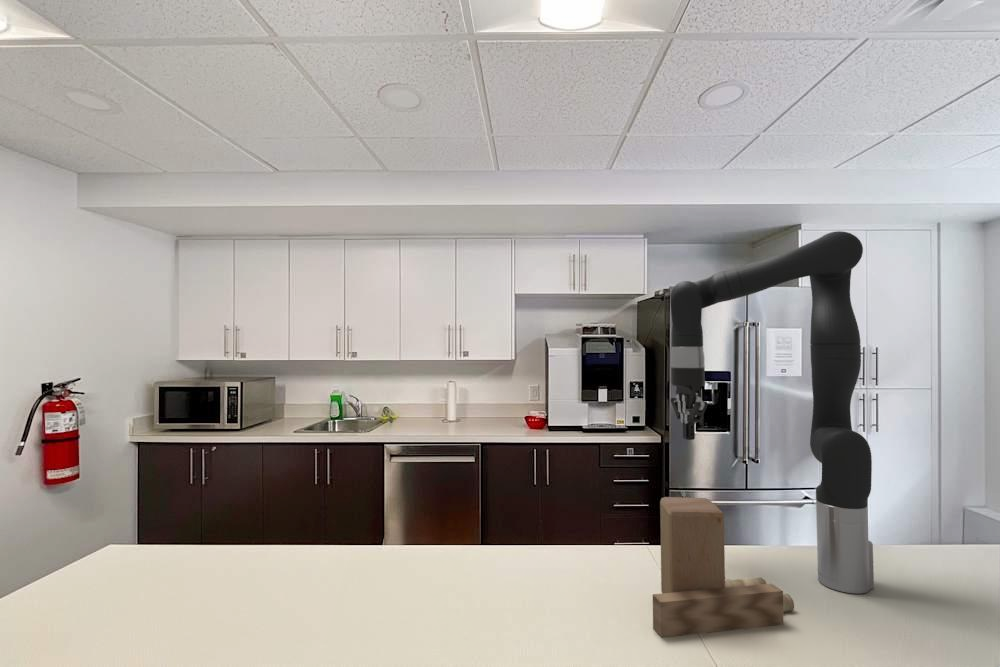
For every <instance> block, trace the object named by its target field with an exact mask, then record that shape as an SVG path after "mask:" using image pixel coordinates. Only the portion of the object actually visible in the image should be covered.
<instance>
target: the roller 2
mask: <svg viewBox="0 0 1000 667" xmlns="http://www.w3.org/2000/svg"><path fill="white" fill-rule="evenodd" d="M794 610H795V602H794V600H793V598H792V597H791V595H790V594H788V593H783V613H787V612H792V611H794Z"/></svg>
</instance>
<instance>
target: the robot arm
mask: <svg viewBox="0 0 1000 667" xmlns="http://www.w3.org/2000/svg"><path fill="white" fill-rule="evenodd" d="M863 252H864V248H863V243H862V242H861V240H860V239H859V237H857V236H856V235H855V234H852V233H851V232H846V231H840V230H838V231H832V232H829V233H826V234H824V235H822V236H820V237H819V238H817V239H815V240H813V241H811V242H809V243H806V244H804V245H802V246H799V247H797V248H794V249H791V250H789V251H786V252H784V253H780V254H777V255H773V256H772V257H771V256H770V257H768V258H764V259H759V260H757V261H753V262H750V263H746V264H743V265H739V266H734V267H732V268H729V269H726V270H723V271H722V270H721V271H719V272H716V273H714V274H713V275H711V276H709V277H707V278H704V279H700V280H695V281H690V280H683V281H681V282H680V281H679V282H678V283H677V284H675V285H674V286H673V287H672V289H671V292H670V298H669V300H670V301H669V302H670V312H671V323H672V324H671V326H672V327H671V353H670V378H671V379H670V380H671V381H670V384H671V386H674V387H676V389H675V396H674V397H670V403H671V405H672V408H673V411H674V413H675V416H676V419H677V420H680V422H681V424H682V438H683V439H684V440H687V441H693V440H695V437H696V433H695V432H696V430H695V427H696V426H695V424H697V423H699V422H700V423H701V421H702V418H703V417H704V414H705V412H706V410H707V409H708V405H709V404H708V402H707V401H703V400H702V392H701V387H704V386H705V384H706V376H705V375H706V374H705V371H706V370H705V352H704V336H703V335H704V334H703V325H702V311H703V309H705V308H708V307H710V306H713V305H715V304H718V303H723V302H729V301H731V300H736V299H739V298H743V297H746V296H750V295H753V294H756V293H760V292H761V291H765V290H767V289H771V288H774V287H775V286H778V285H780V284H784V283H786V282H787V283H788V282H789V281H790V282H791V281H794V280H797V279H800V278H805V277H806V278H807V277H809V282H810V289H811V301H812V302H811V304H812V305H811V317H810V318H811V319H810V341H809V342H810V345H809V347H810V364H811V365H810V366H811V367H810V368H811V385H812V388H811V389H812V399H813V400H812V403H813V404H812V406H813V407H812V418H811V426H810V427H811V428H810V435H809V436H810V437H809V446H810V450H811V453H812V454H813V457H815V459H816V461H818V462H819V463H821V481H820V483H819V485H818V486H816V488H815V508H816V509H815V510H816V511H815V513H816V544H817V546H816V547H817V549H816V550H817V551H816V552H817V554H816V555H817V557H816V558H817V580H818V582H819V583H820V584H822V585H823V586H825V587H827V588H829V589H832V590H835V591H839V592H842V593H848V594H858V595H859V594H865V593H868V592H870V590H873V589H875V581H874V580H875V579H874V578H875V577H874V574H875V573H874V545H873V542H872V541H871V540H870V539H869V515H868V514H869V513H868V512H869V511H868V510H869V509H868V507H869V506H868V505H869V504H868V500H869V497H870V494H871V492H872V477H873V476H872V474H873V473H872V472H873V471H872V468H873V467H872V466H873V462H872V459H873V458H872V450H871V446H870V444H869V442H868V441H867V440H866V438H865V437H864V436H863V435H862V434H860V433H858V432H856V431H854V430H853V428H852V427H853V426H852V419H851V418H852V417H851V403H852V399H853V398H852V397H853V394H854V390H855V389H856V384H857V382H858V379H859V375H860V371H861V364H862V353H861V351H862V350H861V349H862V348H861V345H862V344H861V336H860V330H859V326H858V322H857V319H856V316H855V312H854V309H853V306H852V301H851V279H852V270H853V269H854V268H855V267H856V266H857V265H858V263H859V262H860V261H861V259H862V257H863V254H864V253H863Z"/></svg>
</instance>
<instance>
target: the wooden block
mask: <svg viewBox="0 0 1000 667" xmlns="http://www.w3.org/2000/svg"><path fill="white" fill-rule="evenodd" d="M659 509H660V510H659V515H660V516H659V517H660V520H659V521H660V525H659V526H660V570H661V571H660V578H661V579H660V581H661V582H660V584H661V585H660V586H661V587H660V588H661V589H660V590H661V594H662V593H673V592H684V591H695V590H706V589H717V588H725V581H726V562H725V556H726V555H725V553H726V552H725V515H724V512H723V511H722V510H721V509H720V508H719V507H718V506H717V505H716V504H715V503H713V502H712V501H711V499H709V498H707V497H684V496H683V497H680V496H679V497H678V496H674V497H673V496H664V497H661V498H660V501H659Z"/></svg>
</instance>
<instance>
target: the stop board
mask: <svg viewBox="0 0 1000 667" xmlns="http://www.w3.org/2000/svg"><path fill="white" fill-rule="evenodd" d="M783 594H784V590H782V589H781V588H779V587H777V586H776V585H775V584H773V583H767V584H761V585H750V586H739V587H728V588H717V589H706V590H695V591H684V592H673V593H662V592H661V593H654V594H653V593H652V629H653V630H654V631H655V632H656V634H657V635H658V636H659V637H660V638H666V637H667V638H669V637H677V636H686V635H688V636H689V635H696V634H705V633H715V632H725V631H732V630H733V631H735V630H742V629H743V630H744V629H752V628H762V627H771V626H780V625H784V623H785V622H784V620H785V619H784V618H785V617H784V612H783Z"/></svg>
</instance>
